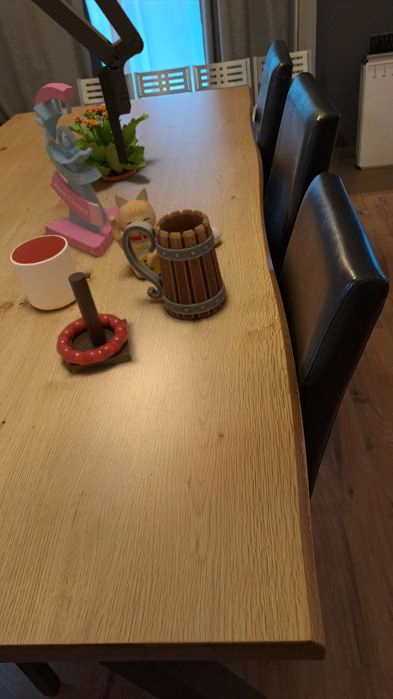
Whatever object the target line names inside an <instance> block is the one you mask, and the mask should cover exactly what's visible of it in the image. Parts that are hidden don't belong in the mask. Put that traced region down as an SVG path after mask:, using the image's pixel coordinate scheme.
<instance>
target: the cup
mask: <svg viewBox="0 0 393 699" xmlns="http://www.w3.org/2000/svg"><path fill="white" fill-rule="evenodd" d="M9 260H10V263H11V264H12V267H13V269H14V271H15V273H16V276H17V278H18V280H19V282H20V284H21V287H22V289H23V291H24V293H25V297H27V300H28V302H29V303H30V305H32V307H34V308H36V309H38V310H43V311H44V310H45V311H50V310H51V311H52V310H57V309H61V308H64V307H67V306H68V305H69V304H71V303H73V302H74V301H76V299H75V296H74V294H73V291H72V288H71V286H70V283H69V280H68V277H69V276H70V275H71V274H73V273H76V272H79V271H78V269H77V268H78V267H77V266H76V262H75V259H74V256H73V253H72V251H71V248H70V244H68V242H67V240H66V239H65V238H63V237H61V236H57V235H48V234H46V235H41V236H37V237H33V238H30V239H29V240H26V241H24V242H22V243H21V244H19V245H17V246H16V247H15V248H14V249H13V251H12V252H11V253H10V255H9Z"/></svg>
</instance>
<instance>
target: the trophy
mask: <svg viewBox="0 0 393 699" xmlns="http://www.w3.org/2000/svg"><path fill="white" fill-rule="evenodd" d="M72 100H74V87H73V86H71V85H68V84H66V83H62V82H50V83H47V84H45V85H44V86H43V87H41V88H40V89H39V90H38V91H37V93H36V95H35V100H34V107H33V108H32V110H33V111H34V112H35V113H34V114H35V117H36V118H35V119H34V121H35V122H36V123H37V125H38V126H39V127H41V128H43V129H41V130H39V134H40V136H41V137H40V138H41V140H42V143H43V146H44V148H45V151H46V154H47V155H48V157H49V159H50V161H51V163H52V164H53V166H54V167H55V169H56V170H55V171H54V172H53V175H52V179H51V183H50V187H51V188H52V190H53V191H54V192H55V193H56V195H57V196H58V197H59V198H60V200H62V202H64V203H65V205H66V206H67V207H68V217H66V218H62V219H58V220H54V221H50V222H47V223H44V230H45V232H46V235H57V236H61V237H63V238H65V239H66V240H67V242H68V245H69V246H71V247H74V248H76V249H79V250H80V251H83V252H85V253H87V254H89V255H91V256H95V257H99V256H100V257H101V256H102V255H103V254H104V253H105V252H106V250H107V248H108V247H109V245H110V244H111V243H112V241H113V240H114V236H113V233H112V229H111V226H110V222H109V216H110V215H113V216H115V219H116V222H117V213H118V207H117V205H115V206H112V207H106V208H104V207H103V205H102V204H101V201H100V200H99V197H98V196H97V193H96V191H95V190H94V188H93V186H92V184H91V183H94V182H95V181H98V180H99V179H101V178H102V177H101V176H102V175H101V174H100V172H99V171H98V169H97V168H96V167H89V166H86V165H83V164H82V162H84V161H85V160H86V159H87V158H88V157H89V156H90V155H91V154H92V153H93V149H91V148H90V147H89V148H88V149H87V150H85V151H83V150H80V149H78V148H75V146H76V139H77V138H76V136H75V134H74V132H73V131H71V130H70V129H69V128H68V127H67V125H64V124H62V125H59V126H58V122H59V120H60V118H61V117H62V116H63V115H64V114H65V112H64V109H63V108H62V107H63V106H62V103H61V101H62V102H64V103H65V108H66V114H67V115H71V114H73V109H72ZM57 126H58V127H57ZM63 133H64V134H65V136H64V137H63V136H62V135H63ZM56 141H57V142H56ZM64 178H65V179H64ZM65 180H66V181H65ZM117 225H118V224H117ZM118 229H119V227H118ZM119 231H121V230H120V229H119Z"/></svg>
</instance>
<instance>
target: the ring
mask: <svg viewBox="0 0 393 699" xmlns="http://www.w3.org/2000/svg"><path fill="white" fill-rule="evenodd" d="M98 314H99V317H100V320H101V323H102V326H107V327H111V328H112V329H113V330H114V336H113V337H112V339H111V340H110V341H109V342H108V343H106V344H104V345H103V346H101V347H99V348H97V349H93V350H88V351H78V350H74V349H72V348H71V342H72V339H73V338H74V337H75V335H76V334H78V333H80V332H82V331H83V330H85V329H86V326H85V323H84V321H83V318H82V316H81V317H79V318H77V319H75V320H73V321H72V322H70V323H68V324H67V325H66V326H64V328H63V330H62V331H61V332H60V333H59V334H58V336H57V338H56V353H57V354H58V355H59V356H60V357H61V358H62V359H63V360H64V361H65V362H66V363H69V364H71V363H74V364H80V365H88V364H92V363H97V362H101V361H104V360H106V359H107V358H109V357H111V356H112V355H114V354H116V353H117V352H119V351H120V349H121V348H122V346H123V345H124V343H125V342H126V340H127V338H128V333H127V325H126V323H125V322H124V321H122V319H121V318H120V317H119V316H117V315H115V314H113V313H112V314H110V313H103V312H98Z"/></svg>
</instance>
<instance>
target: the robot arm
mask: <svg viewBox="0 0 393 699" xmlns="http://www.w3.org/2000/svg"><path fill="white" fill-rule="evenodd" d="M30 1H31V2H32V3H33V4H35V5H36V6H37V7H38V8H39V9H40V10H42V12H44V13H45V14H46V15H47V16H48V17H49V18H51V20H53V21H54V22H55V23H56V24H58V25H59V26H60V27H61V28H62V29H63V30H64V31H66V32H67V33H68V34H69V35H70V36H71V37H72V38H74V40H76V41H77V42H78V43H79V44H81V46H83V47H84V48H85V49H86V50H87V51H88V52H90V54H92V55H93V56H94V57H95V58H97V59H98V60H99V61H100V62H101V63H102V64H104V65H102V66H97V68H96V70H97V78H98V81H99V86H100V90H101V93H102V94H101V95H102V97H103V102H104V105H105V106H106V111H107V115H108V119H109V123H110V127H111V131H112V135H113V139H114V143H115V147H116V151H117V155H118V159H119V164H122V163H127V162H129V161H128V155H127V150H126V146H125V141H124V137H123V133H122V124H121V121H120V117H121V116H124V115H129V114H131V110H132V103H131V98H130V94H129V89H128V84H127V79H126V74H125V65H126V63H127V62H128V61H129V60H130V59H132V58H134V57H135V56H136V55H139V54H142V52H143V51H144V48H145V43H144V42H145V41H144V40H143V37H142V36H141V33H140V32H139V30H138V29H137V28H136V26H135V25H134V24H133V22H132V20H131V18H130V17H129V16H128V14H127V13H126V11H125V10H124V8H123V6H122V5H121V4H120V2H119V1H118V0H93V1H94V2H95V4H96V5H97V6H98V8H99V10H100V11H101V13H102V14H103V15H104V17H105V18H106V20H107V21H108V22H109V24H110V25H111V27H112V28H113V30H114V31H115V33H116V35H117V36H118V37H119V39H117V40H116V41H114V42H112V41H111V40H109V39H108V38H107V37H106V36H105V35H104V34H103V33H102V32H101V31H100V30H98V29H97V27H96V26H95V25H94V24H92V23H91V22H90V21H88V20H87V19H86V18H85V17H84V16H83V15H82V14H81V13H80V12H78V11H77V10H76V9H75V8H74V7H73V6H72V5H71V4H70V3H69V2H67V0H30ZM120 115H121V116H120ZM119 116H120V117H119Z"/></svg>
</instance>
